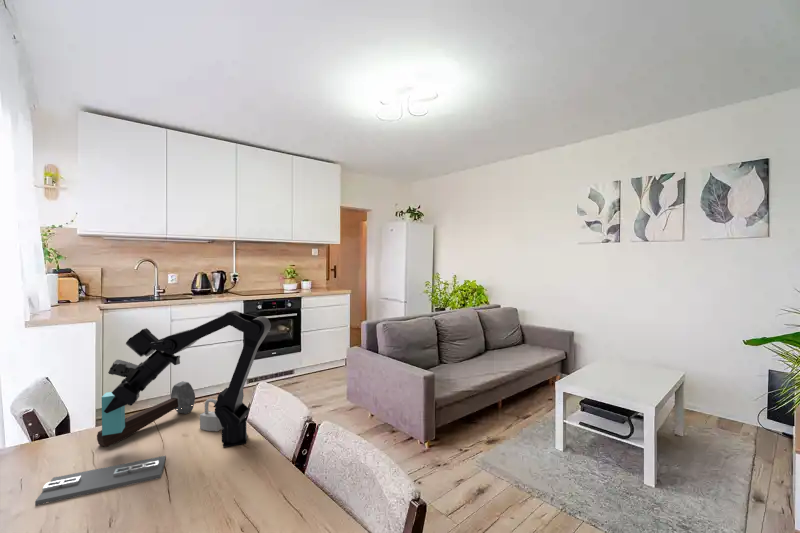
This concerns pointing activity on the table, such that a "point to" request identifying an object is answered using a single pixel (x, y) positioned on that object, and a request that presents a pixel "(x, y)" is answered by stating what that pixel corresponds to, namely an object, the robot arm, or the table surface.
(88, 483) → the rubber mat
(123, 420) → the teal block
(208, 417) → the padlock
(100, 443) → the hammer
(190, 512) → the table surface
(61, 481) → the steel chain
